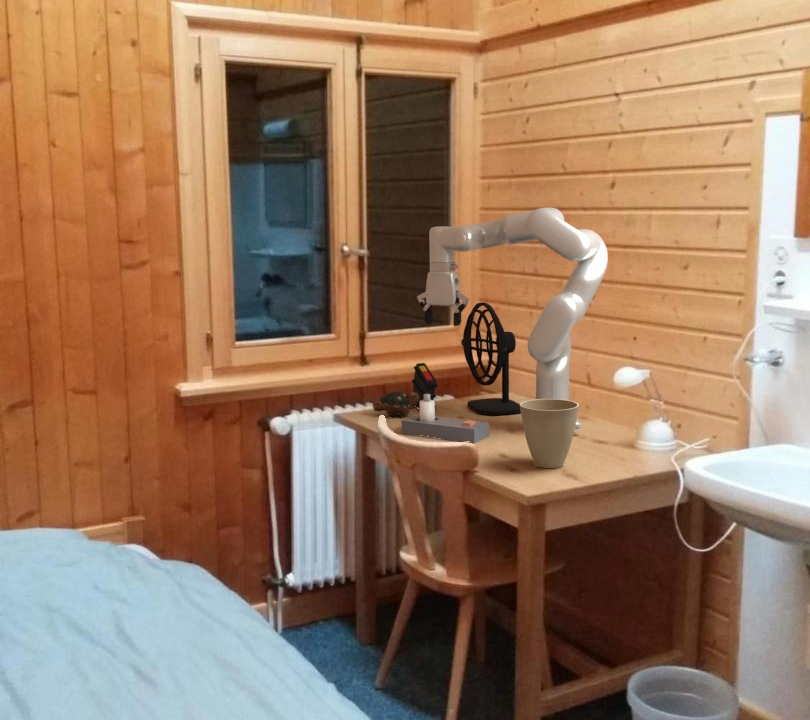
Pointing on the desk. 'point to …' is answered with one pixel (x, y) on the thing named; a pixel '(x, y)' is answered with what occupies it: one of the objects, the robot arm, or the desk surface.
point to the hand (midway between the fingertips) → (443, 324)
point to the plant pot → (549, 429)
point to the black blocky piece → (423, 382)
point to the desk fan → (490, 361)
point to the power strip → (446, 428)
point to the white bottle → (427, 409)
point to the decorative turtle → (397, 403)
